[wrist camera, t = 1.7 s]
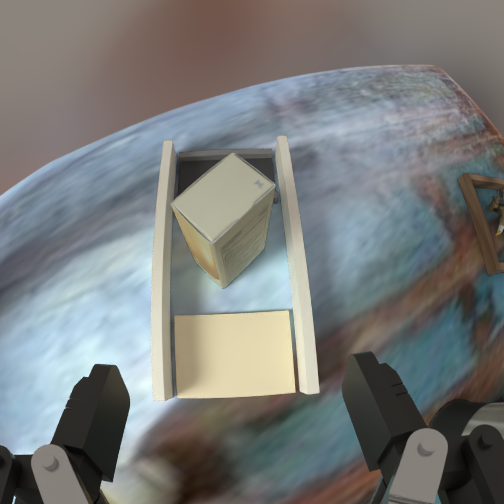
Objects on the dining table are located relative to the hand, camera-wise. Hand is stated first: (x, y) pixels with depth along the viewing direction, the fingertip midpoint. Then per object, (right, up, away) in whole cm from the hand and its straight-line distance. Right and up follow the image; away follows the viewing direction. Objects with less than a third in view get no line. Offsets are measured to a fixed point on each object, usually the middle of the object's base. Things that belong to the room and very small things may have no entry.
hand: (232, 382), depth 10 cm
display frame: (+38, +8, +25) cm, 46 cm away
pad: (-1, -5, +18) cm, 19 cm away
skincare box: (-2, +4, +22) cm, 22 cm away
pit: (-2, +13, +25) cm, 28 cm away
